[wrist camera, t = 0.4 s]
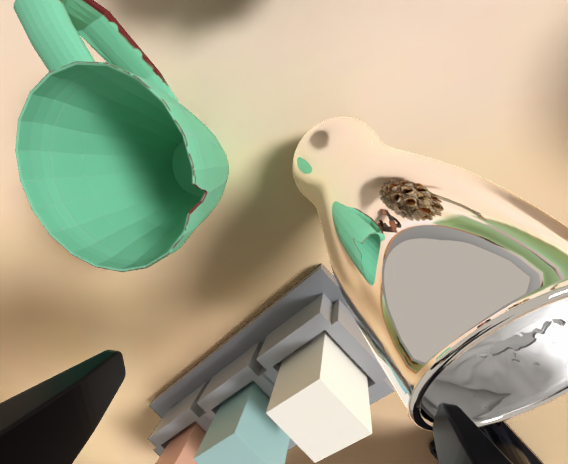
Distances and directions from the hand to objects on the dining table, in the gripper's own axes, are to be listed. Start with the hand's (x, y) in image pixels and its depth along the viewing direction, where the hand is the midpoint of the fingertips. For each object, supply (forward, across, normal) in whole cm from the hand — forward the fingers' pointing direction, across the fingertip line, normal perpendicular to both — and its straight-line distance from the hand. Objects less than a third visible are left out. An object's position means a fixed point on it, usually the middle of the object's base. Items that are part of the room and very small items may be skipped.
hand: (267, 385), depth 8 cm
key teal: (+11, +3, +15) cm, 19 cm away
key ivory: (+11, -2, +10) cm, 15 cm away
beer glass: (+14, -1, -5) cm, 15 cm away
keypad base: (+14, +3, +16) cm, 21 cm away
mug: (+16, +10, -6) cm, 20 cm away
